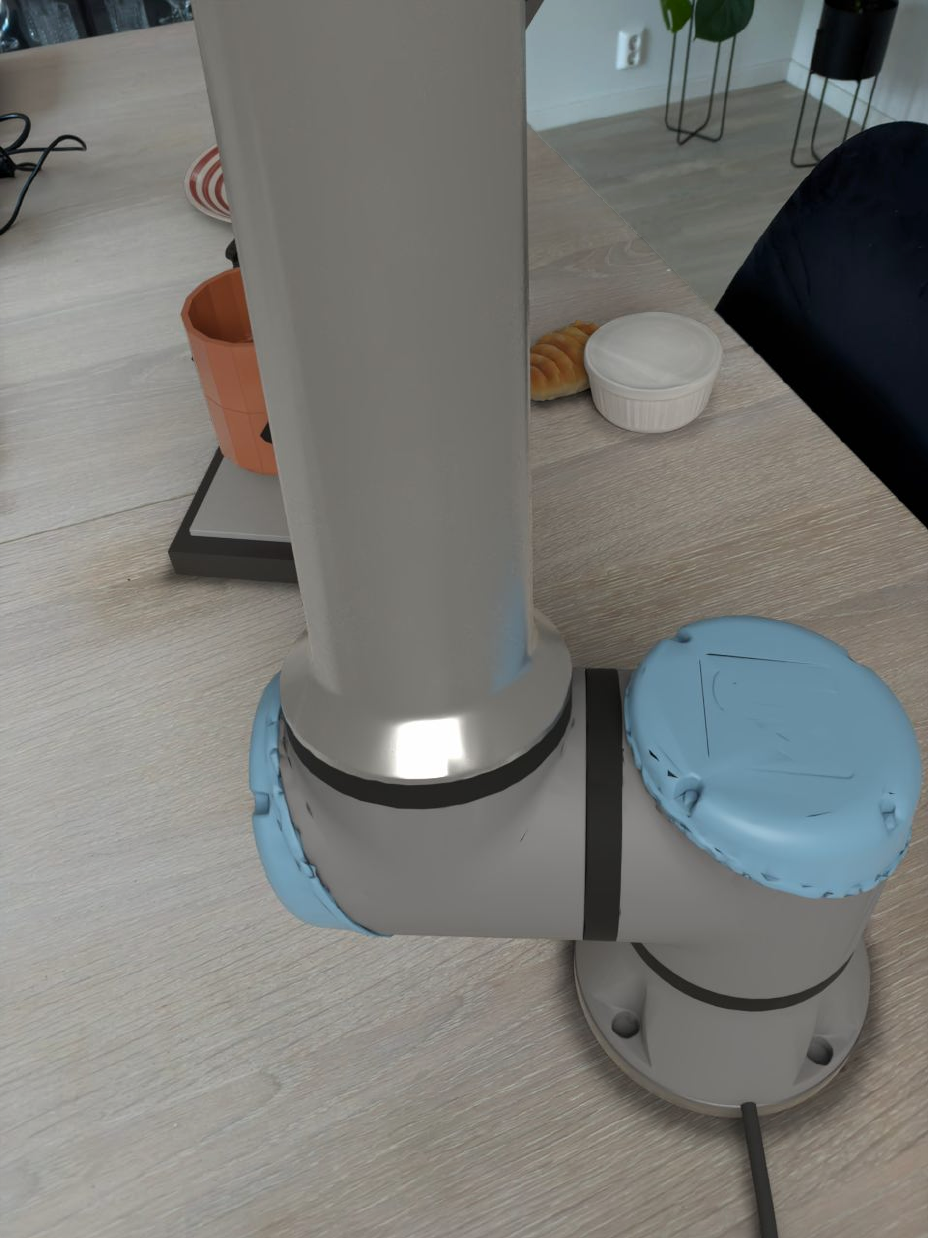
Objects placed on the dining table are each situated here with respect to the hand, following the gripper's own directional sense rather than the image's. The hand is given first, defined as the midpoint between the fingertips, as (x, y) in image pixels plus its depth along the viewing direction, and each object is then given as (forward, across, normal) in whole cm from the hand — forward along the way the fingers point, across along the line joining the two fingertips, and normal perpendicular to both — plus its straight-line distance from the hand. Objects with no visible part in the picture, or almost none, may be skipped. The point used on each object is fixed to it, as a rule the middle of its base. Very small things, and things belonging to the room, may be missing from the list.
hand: (241, 404), depth 77 cm
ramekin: (-15, -6, -32) cm, 35 cm away
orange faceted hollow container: (+1, 0, -5) cm, 5 cm away
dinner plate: (-12, +47, -29) cm, 56 cm away
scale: (+6, 0, -10) cm, 12 cm away
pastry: (-14, +1, -28) cm, 31 cm away
